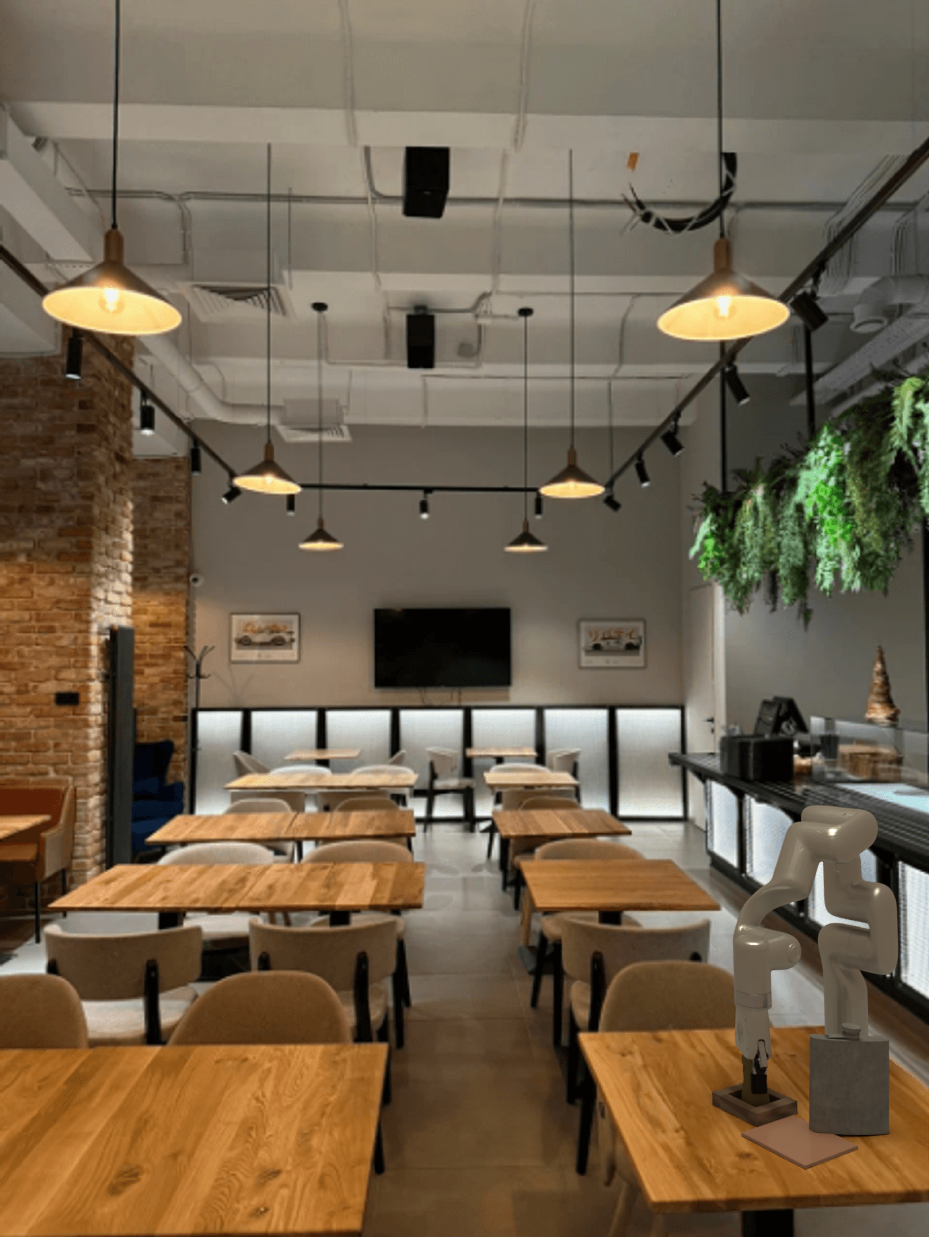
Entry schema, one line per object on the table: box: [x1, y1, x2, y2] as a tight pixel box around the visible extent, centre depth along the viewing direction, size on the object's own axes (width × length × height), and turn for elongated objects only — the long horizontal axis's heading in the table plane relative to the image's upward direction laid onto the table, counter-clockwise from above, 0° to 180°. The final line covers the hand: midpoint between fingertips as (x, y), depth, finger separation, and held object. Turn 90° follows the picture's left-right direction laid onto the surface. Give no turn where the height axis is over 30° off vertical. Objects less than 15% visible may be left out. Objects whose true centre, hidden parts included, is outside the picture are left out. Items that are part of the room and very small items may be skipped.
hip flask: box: [808, 1023, 890, 1136], centre depth 185 cm, size 16×4×20 cm, turn 94°
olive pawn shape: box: [741, 1054, 770, 1107], centre depth 195 cm, size 6×6×11 cm
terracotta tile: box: [741, 1115, 859, 1170], centre depth 180 cm, size 15×15×1 cm
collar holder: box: [711, 1082, 799, 1128], centre depth 195 cm, size 12×12×2 cm
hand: (755, 1086), depth 195 cm, fingers closed on olive pawn shape, 4 cm apart
